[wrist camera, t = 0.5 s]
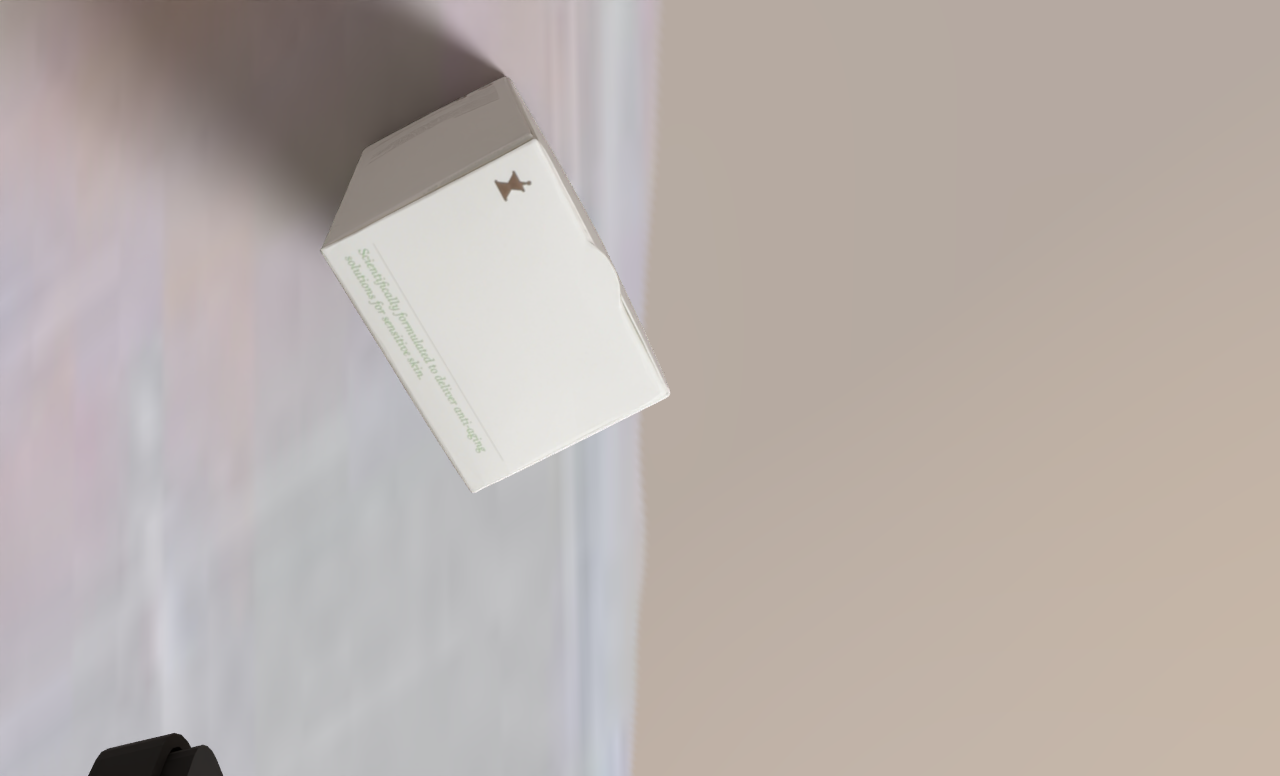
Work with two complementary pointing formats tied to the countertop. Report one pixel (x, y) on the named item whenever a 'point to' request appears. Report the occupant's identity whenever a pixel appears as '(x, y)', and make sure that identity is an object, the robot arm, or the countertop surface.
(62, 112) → the countertop surface
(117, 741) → the countertop surface
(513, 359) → the skincare box
